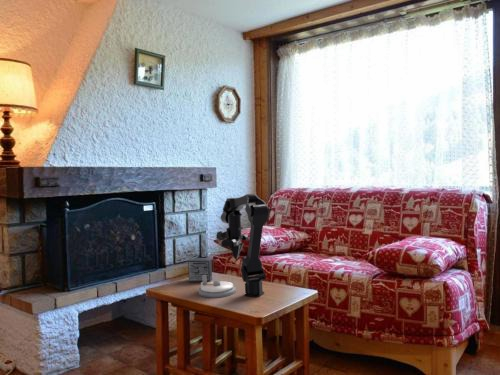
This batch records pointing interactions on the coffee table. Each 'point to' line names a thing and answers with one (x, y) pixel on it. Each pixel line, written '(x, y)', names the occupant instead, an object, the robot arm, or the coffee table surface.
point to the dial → (215, 286)
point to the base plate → (215, 295)
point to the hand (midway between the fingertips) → (236, 258)
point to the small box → (199, 269)
